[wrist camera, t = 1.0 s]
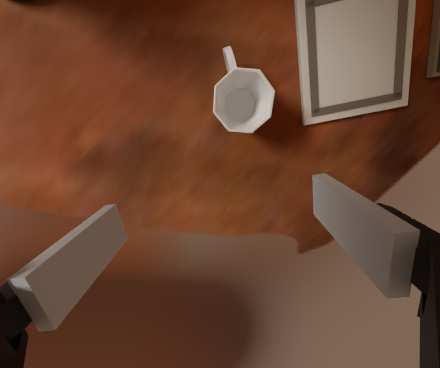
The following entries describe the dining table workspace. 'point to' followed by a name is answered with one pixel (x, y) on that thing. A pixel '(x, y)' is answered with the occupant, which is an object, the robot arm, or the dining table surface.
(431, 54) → the ink pad
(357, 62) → the board
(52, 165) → the dining table surface
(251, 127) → the cup
